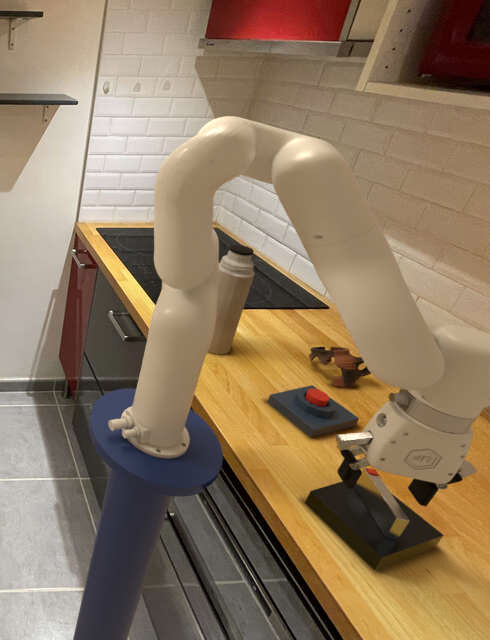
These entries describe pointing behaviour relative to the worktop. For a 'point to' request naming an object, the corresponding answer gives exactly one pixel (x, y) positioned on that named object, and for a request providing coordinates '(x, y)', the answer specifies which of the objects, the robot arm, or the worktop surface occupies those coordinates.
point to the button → (317, 397)
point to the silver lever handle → (381, 504)
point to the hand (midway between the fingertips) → (379, 489)
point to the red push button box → (312, 412)
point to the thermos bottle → (231, 295)
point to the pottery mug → (341, 364)
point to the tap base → (370, 526)
